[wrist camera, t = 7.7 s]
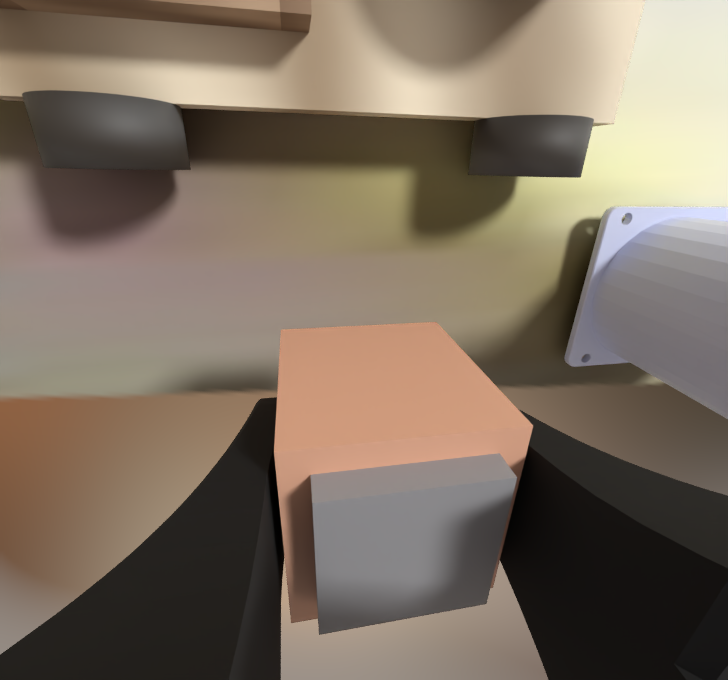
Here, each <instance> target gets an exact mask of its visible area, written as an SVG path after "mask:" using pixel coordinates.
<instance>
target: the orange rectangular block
mask: <svg viewBox="0 0 728 680" xmlns="http://www.w3.org/2000/svg"><path fill="white" fill-rule="evenodd" d="M532 429H533V425H532V424H531V423H530V422H529V420H528V419H527V418H526V417H525V416H524V415H523V414H522V413H521V412H520V411H519V410H518V409H517V408H516V407H515V406H514V404H513V403H512V402H511V401H510V400H509V399H508V398H507V397H506V396H505V395H504V394H503V393H502V392H501V391H500V389H499V388H498V387H497V386H496V385H495V384H494V383H493V382H492V381H491V380H490V379H489V378H488V377H487V376H486V375H485V373H484V372H483V371H482V370H481V369H480V368H479V367H478V366H477V365H476V364H475V363H474V362H473V361H472V360H471V359H470V357H469V356H468V355H467V354H466V353H465V352H464V351H463V350H462V349H461V348H460V347H459V346H458V345H457V344H456V343H455V341H454V340H453V339H452V338H451V337H450V336H449V335H448V334H447V333H446V332H445V331H444V330H443V329H442V328H441V327H440V325H439V324H438V323H437V322H426V323H406V324H386V325H366V326H346V327H325V328H305V329H285V330H281V339H280V356H279V373H278V391H277V408H276V425H275V443H274V457H275V467H276V477H277V487H278V497H279V507H280V517H281V526H282V536H283V546H284V556H285V565H286V576H287V585H288V594H289V605H290V615H291V623H294V622H300V621H306V620H311V619H317V618H318V624H319V635H320V634H326V633H331V632H336V631H341V630H347V629H353V628H358V627H364V626H369V625H375V624H380V623H385V622H391V621H396V620H402V619H407V618H412V617H418V616H423V615H429V614H434V613H440V612H444V611H450V610H456V609H461V608H466V607H472V606H477V605H483V604H486V603H487V599H488V595H489V590H490V588H493V585H494V581H495V577H496V573H497V569H498V565H499V560H500V557H501V553H502V549H503V545H504V541H505V537H506V533H507V529H508V525H509V521H510V517H511V513H512V509H513V505H514V501H515V497H516V493H517V489H518V485H519V481H520V477H521V473H522V469H523V465H524V461H525V457H526V453H527V449H528V445H529V441H530V437H531V433H532Z"/></svg>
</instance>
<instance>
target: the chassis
mask: <svg viewBox="0 0 728 680" xmlns="http://www.w3.org/2000/svg"><path fill="white" fill-rule="evenodd" d="M644 4H645V0H0V99H2V100H8V101H24V103H25V106H26V110H27V113H28V116H29V120H30V123H31V126H32V130H33V133H34V136H35V139H36V143H37V146H38V149H39V153H40V156H41V159H42V163H43V166H44V167H45V168H79V169H143V170H191V169H190V163H189V156H188V150H187V143H186V137H185V131H184V124H183V118H182V111H181V108H191V109H213V110H236V111H259V112H282V113H304V114H327V115H350V116H373V117H395V118H418V119H441V120H464V121H475V122H474V130H473V139H472V147H471V155H470V163H469V172H468V175H491V176H528V177H581V173H582V169H583V165H584V160H585V156H586V152H587V148H588V143H589V139H590V135H591V131H592V126H600V125H607V124H614V122H615V118H616V114H617V110H618V106H619V102H620V98H621V94H622V90H623V86H624V82H625V79H626V75H627V71H628V67H629V63H630V59H631V55H632V51H633V47H634V43H635V39H636V35H637V32H638V28H639V24H640V20H641V16H642V12H643V8H644Z"/></svg>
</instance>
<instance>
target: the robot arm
mask: <svg viewBox="0 0 728 680" xmlns="http://www.w3.org/2000/svg"><path fill="white" fill-rule="evenodd" d="M624 215H625V219H624V221H623V222H622V218H623V216H624ZM584 355H585V356H584ZM583 356H584V357H583ZM582 357H583V358H582ZM564 360H565V362H566V363H567V364H569V365H570V366H572V367H579V366H592V365H605V364H618V363H632V364H633V365H635V366H637V367H639V368H640V369H642V370H644V371H645V372H647V373H649V374H651V375H652V376H654V377H656V378H658V379H659V380H661V381H663V382H665V383H666V384H668V385H670V386H671V387H673V388H675V389H677V390H679V391H680V392H682V393H684V394H685V395H687V396H689V397H691V398H692V399H694V400H696V401H698V402H699V403H701V404H703V405H705V406H706V407H708V408H710V409H711V410H713V411H715V412H717V413H718V414H720V415H722V416H724V417H725V418H727V419H728V207H642V206H614V207H610V208H609V209H607V210H606V211H605V213H604V214H603V216H602V219H601V222H600V226H599V230H598V234H597V237H596V241H595V245H594V249H593V252H592V256H591V260H590V264H589V267H588V271H587V275H586V279H585V282H584V286H583V290H582V294H581V297H580V301H579V305H578V308H577V312H576V316H575V320H574V323H573V327H572V331H571V335H570V338H569V342H568V346H567V350H566V353H565V359H564ZM276 408H277V397H276V398H264V399H260V400H259V401H258V402H257V403H256V405H255V407H254V409H253V411H252V412H251V414H250V416H249V417H248V419H247V421H246V422H245V424H244V426H243V427H242V429H241V430H240V432H239V433H238V435H237V436H236V438H235V439H234V441H233V442H232V443H231V445H230V446H229V448H228V449H227V451H226V452H225V453H224V455H223V456H222V457H221V458H220V460H219V461H218V463H217V464H216V465H215V466H214V467H213V469H212V470H211V471H210V473H209V474H208V475H207V476H206V477H205V479H204V480H203V481H202V482H201V483H200V485H199V486H198V487H197V488H196V489H195V490H194V491H193V493H192V494H191V495H190V496H189V497H188V498H187V499H186V500H185V501H184V502H183V504H182V505H181V506H180V507H179V508H178V509H177V510H176V511H175V512H174V513H173V514H172V515H171V516H170V517H169V518H168V519H167V520H166V521H165V522H164V523H163V524H162V525H161V526H160V527H159V528H158V529H157V530H156V531H155V532H154V533H153V534H151V535H150V536H149V537H148V538H147V539H146V540H145V541H144V542H143V543H142V544H141V545H140V546H139V547H138V548H137V549H135V550H134V551H133V552H132V553H131V554H130V555H129V556H128V557H126V558H125V559H124V560H123V561H122V562H121V563H119V564H118V565H117V566H116V567H115V568H113V569H112V570H111V571H110V572H109V573H107V574H106V575H105V576H104V577H103V578H102V579H100V580H99V581H98V582H96V583H95V584H94V585H93V586H92V587H90V588H89V589H88V590H86V591H85V592H84V593H83V594H82V595H80V596H79V597H78V598H76V599H75V600H74V601H73V602H71V603H70V604H69V605H67V606H66V607H65V608H63V609H62V610H61V611H60V612H58V613H57V614H56V615H54V616H53V617H52V618H50V619H49V620H47V621H46V622H45V623H43V624H42V625H41V626H39V627H38V628H36V629H35V630H34V631H32V632H31V633H30V634H28V635H27V636H25V637H24V638H23V639H21V640H20V641H19V642H17V643H16V644H14V645H13V646H12V647H10V648H9V649H8V650H6V651H5V652H3V653H2V654H1V655H0V680H281V679H280V678H281V675H280V673H281V665H280V664H281V590H282V575H283V564H284V546H283V536H282V526H281V517H280V507H279V497H278V487H277V477H276V467H275V457H274V443H275V425H276ZM518 410H519V409H518ZM519 411H520V412H521V413H522V414H523V415H524V416H525V417H526V418H527V419H528V420H529V422H530V423H531V424H532V425H533V429H532V433H531V437H530V441H529V445H528V449H527V453H526V457H525V461H524V465H523V469H522V473H521V477H520V481H519V485H518V489H517V493H516V497H515V501H514V505H513V509H512V513H511V517H510V521H509V525H508V529H507V533H506V537H505V541H504V545H503V549H502V553H501V557H500V561H501V563H502V565H503V568H504V570H505V573H506V575H507V577H508V580H509V582H510V584H511V586H512V589H513V591H514V594H515V596H516V598H517V601H518V603H519V605H520V608H521V610H522V613H523V615H524V618H525V620H526V623H527V625H528V628H529V630H530V632H531V635H532V638H533V640H534V643H535V645H536V648H537V650H538V653H539V655H540V658H541V661H542V663H543V666H544V669H545V671H546V674H547V677H548V679H549V680H728V496H727V495H723V494H720V493H716V492H713V491H709V490H706V489H703V488H700V487H697V486H694V485H691V484H688V483H684V482H681V481H678V480H675V479H673V478H670V477H667V476H664V475H661V474H659V473H656V472H653V471H650V470H647V469H645V468H642V467H639V466H637V465H634V464H632V463H629V462H626V461H624V460H621V459H619V458H617V457H614V456H612V455H610V454H607V453H605V452H603V451H600V450H598V449H596V448H593V447H591V446H589V445H587V444H585V443H582V442H580V441H578V440H576V439H574V438H572V437H570V436H568V435H566V434H564V433H562V432H560V431H558V430H556V429H554V428H552V427H550V426H548V425H546V424H545V423H543V422H541V421H539V420H537V419H535V418H534V417H532V416H530V415H528V414H526V413H524V412H523V411H521V410H519Z"/></svg>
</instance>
